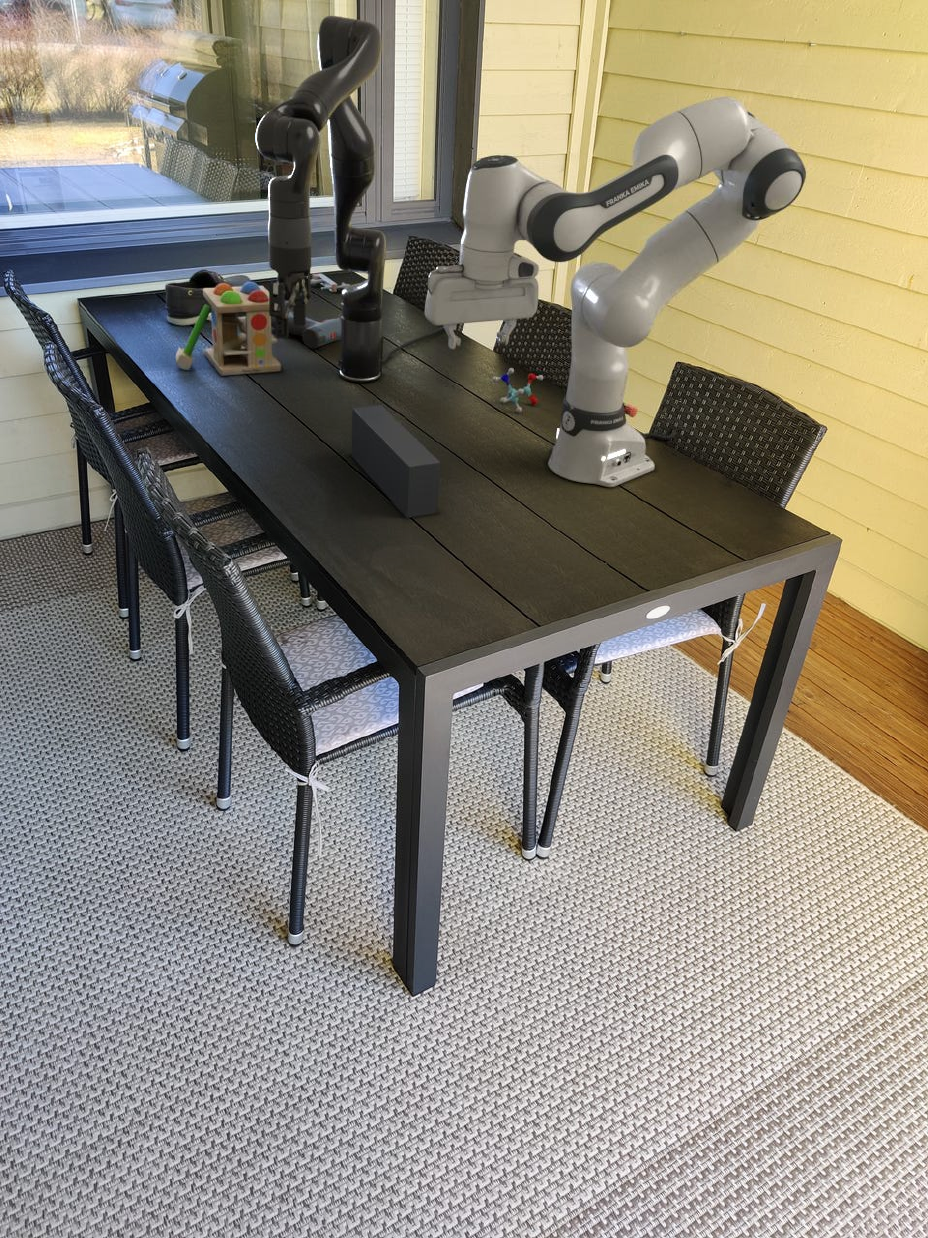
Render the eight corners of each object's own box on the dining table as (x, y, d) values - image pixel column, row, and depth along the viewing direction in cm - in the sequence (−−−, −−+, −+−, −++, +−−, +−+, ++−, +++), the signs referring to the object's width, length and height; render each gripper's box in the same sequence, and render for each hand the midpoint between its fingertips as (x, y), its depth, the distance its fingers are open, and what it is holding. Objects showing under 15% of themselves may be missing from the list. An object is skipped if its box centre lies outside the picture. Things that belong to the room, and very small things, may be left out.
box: (351, 455, 196) (352, 407, 190) (379, 452, 198) (381, 404, 192) (406, 518, 176) (409, 466, 170) (436, 513, 179) (440, 462, 173)
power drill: (305, 316, 264) (364, 334, 256) (257, 332, 251) (318, 351, 243) (305, 296, 261) (365, 314, 253) (257, 311, 248) (318, 330, 240)
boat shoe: (273, 303, 272) (271, 265, 267) (185, 327, 248) (181, 285, 243) (238, 295, 278) (236, 257, 272) (149, 317, 254) (144, 276, 249)
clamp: (303, 274, 289) (334, 272, 294) (303, 281, 290) (334, 279, 295) (323, 288, 279) (355, 286, 283) (323, 296, 280) (355, 294, 285)
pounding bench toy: (183, 379, 220) (176, 299, 210) (169, 357, 231) (162, 280, 221) (282, 371, 230) (280, 294, 220) (264, 350, 240) (262, 276, 230)
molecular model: (539, 404, 216) (525, 360, 215) (500, 418, 220) (486, 375, 218) (551, 402, 227) (538, 360, 225) (514, 416, 230) (501, 374, 229)
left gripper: (294, 253, 168) (295, 345, 177) (323, 235, 180) (323, 323, 189) (253, 246, 169) (256, 339, 178) (285, 229, 181) (286, 317, 190)
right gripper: (437, 271, 155) (432, 357, 163) (547, 265, 164) (537, 346, 171) (420, 261, 159) (416, 344, 167) (528, 255, 168) (519, 335, 176)
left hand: (291, 331), depth 184 cm, fingers open, 8 cm apart
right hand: (478, 345), depth 169 cm, fingers open, 8 cm apart
